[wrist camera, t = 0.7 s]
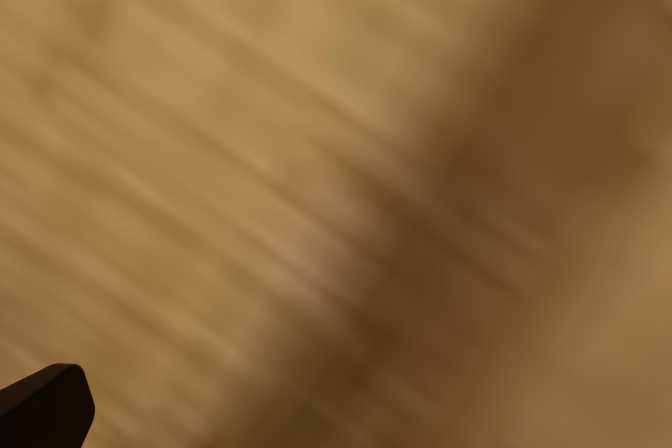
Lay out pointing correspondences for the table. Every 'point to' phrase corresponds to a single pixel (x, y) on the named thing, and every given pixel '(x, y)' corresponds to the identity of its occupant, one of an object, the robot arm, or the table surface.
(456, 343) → the table surface
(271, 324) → the table surface
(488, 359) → the table surface
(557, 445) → the table surface
